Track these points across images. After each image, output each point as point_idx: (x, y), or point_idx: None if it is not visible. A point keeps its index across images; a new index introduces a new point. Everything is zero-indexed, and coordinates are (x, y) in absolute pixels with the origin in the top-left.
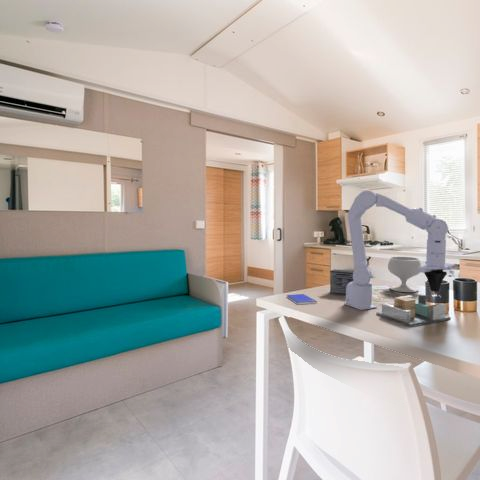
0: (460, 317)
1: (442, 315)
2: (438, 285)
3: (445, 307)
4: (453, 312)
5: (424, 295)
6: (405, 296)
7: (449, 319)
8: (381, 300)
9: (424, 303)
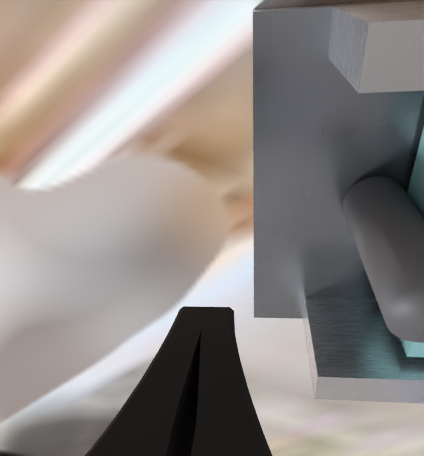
0: (106, 24)
1: (390, 7)
2: (201, 375)
3: (365, 19)
4: (53, 153)
5: (416, 301)
6: (387, 393)
7: (267, 9)
8: (279, 442)
9: (420, 225)
